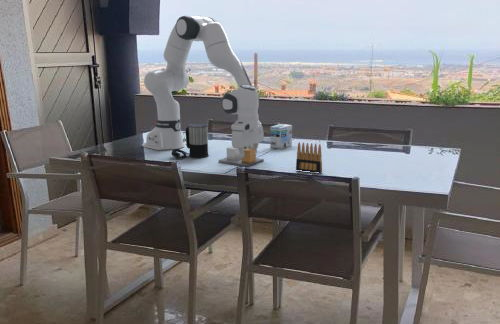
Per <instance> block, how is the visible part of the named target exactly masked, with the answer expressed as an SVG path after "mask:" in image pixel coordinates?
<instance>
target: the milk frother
mask: <svg viewBox="0 0 500 324" xmlns="http://www.w3.org/2000/svg"><path fill="white" fill-rule="evenodd" d="M208 126H209V124H207V123H190V124H188V126H187V127H186V128H185V141H186V142H185V144H186V148H187V149H189V153H188V152H186V151H185V150H183V149H182V150H181V149H180V148H178V149H171V156H173V157H174V158H175V159H185V158H186V157H187V155H188V157H190V158H193V159H194V158H195V159H201V158H202V159H203V158H208V157H209V156H210V155H209V147H208V146H209V144H208V143H209V139H208V137H209V133H208V132H209V131H208V130H209V129H208ZM181 154H182V155H181Z"/></svg>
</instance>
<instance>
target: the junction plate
mask: <svg viewBox="0 0 500 324" xmlns="http://www.w3.org/2000/svg"><path fill="white" fill-rule="evenodd" d="M264 161H265V160H264V158H259V157H258V158H257V157H256V161H253V162H244V161H242V157H240V153H239V150H238V149H237V148H233V146H232V145H231V146H229V147H226V157H224V158H221V159H218V163H219V164H225V165H233V166H237V167H238V166H240V167H245V168H251V167H253V166H255V165H259V164H260V163H263V162H264Z"/></svg>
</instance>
